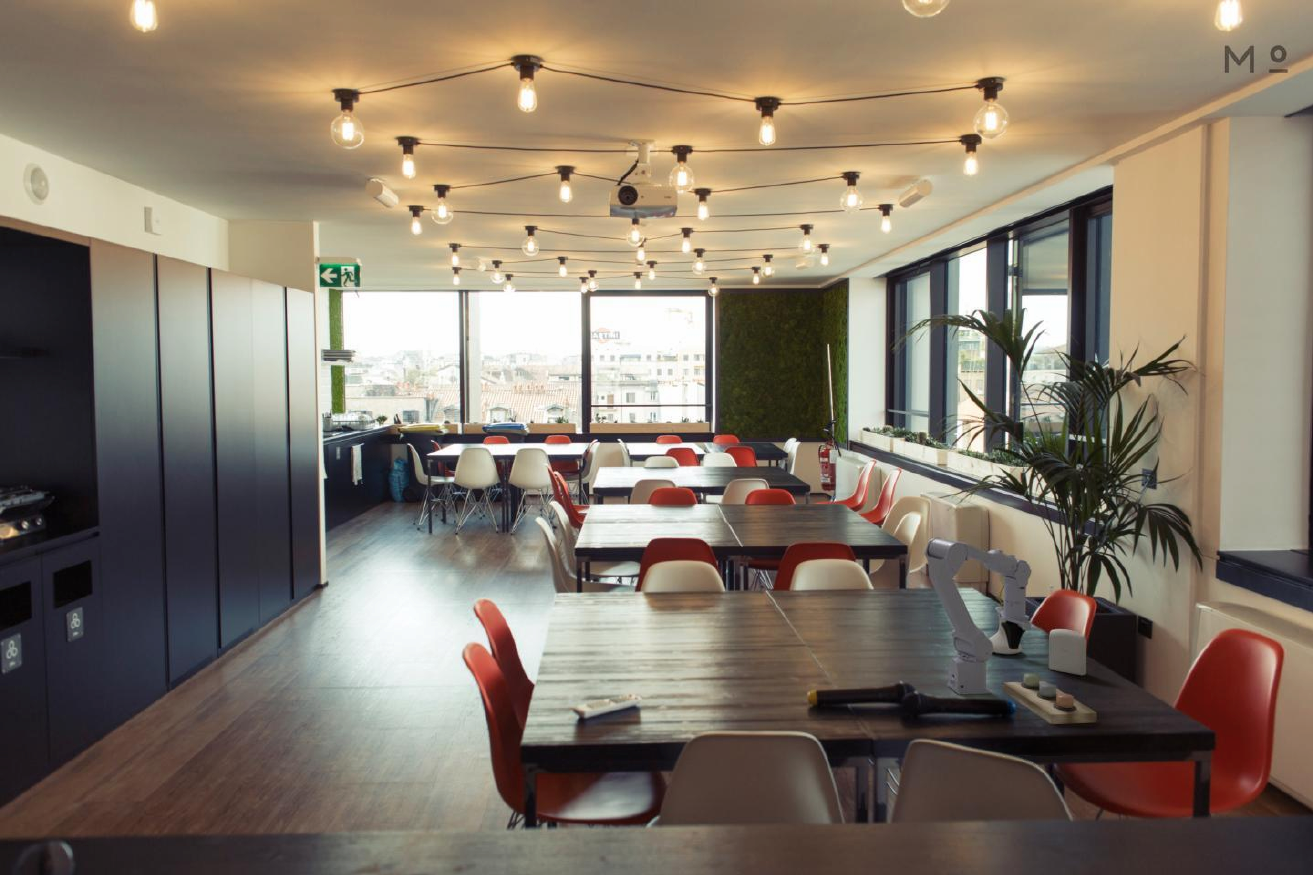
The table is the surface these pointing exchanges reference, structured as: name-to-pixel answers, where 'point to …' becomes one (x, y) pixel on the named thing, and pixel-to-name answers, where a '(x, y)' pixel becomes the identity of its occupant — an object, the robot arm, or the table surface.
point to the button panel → (1048, 704)
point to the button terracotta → (1065, 700)
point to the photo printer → (1067, 651)
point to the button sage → (1031, 679)
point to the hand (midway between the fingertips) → (1013, 648)
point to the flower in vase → (1002, 632)
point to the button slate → (1047, 690)
